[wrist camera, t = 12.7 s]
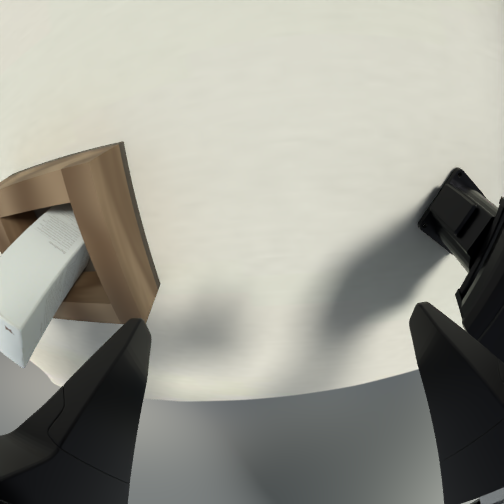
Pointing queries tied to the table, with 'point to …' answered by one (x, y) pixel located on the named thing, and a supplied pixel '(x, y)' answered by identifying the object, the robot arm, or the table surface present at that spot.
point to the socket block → (89, 230)
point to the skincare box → (38, 279)
